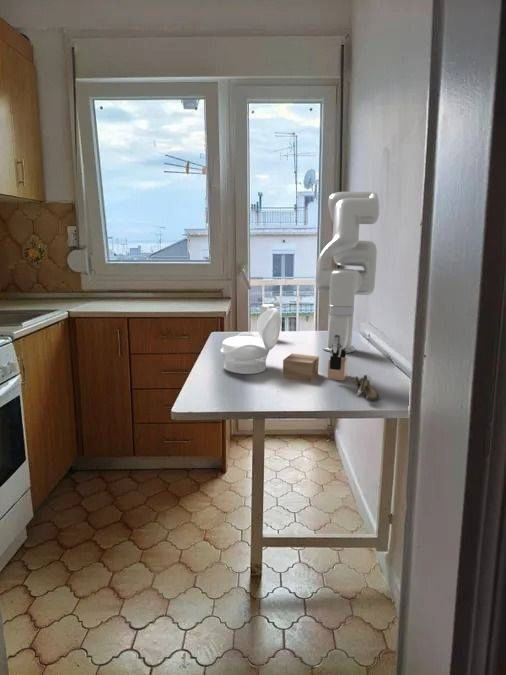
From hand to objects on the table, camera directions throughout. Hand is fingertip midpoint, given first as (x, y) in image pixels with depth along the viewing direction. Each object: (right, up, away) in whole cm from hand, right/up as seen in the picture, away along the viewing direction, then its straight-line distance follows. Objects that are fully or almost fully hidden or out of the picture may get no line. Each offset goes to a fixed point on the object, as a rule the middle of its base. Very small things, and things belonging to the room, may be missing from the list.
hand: (337, 365), depth 139 cm
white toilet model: (-27, -2, +10) cm, 29 cm away
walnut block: (-11, -4, +2) cm, 12 cm away
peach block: (0, -4, +1) cm, 4 cm away
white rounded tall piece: (-20, +8, +55) cm, 59 cm away
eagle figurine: (+4, -8, -16) cm, 18 cm away
